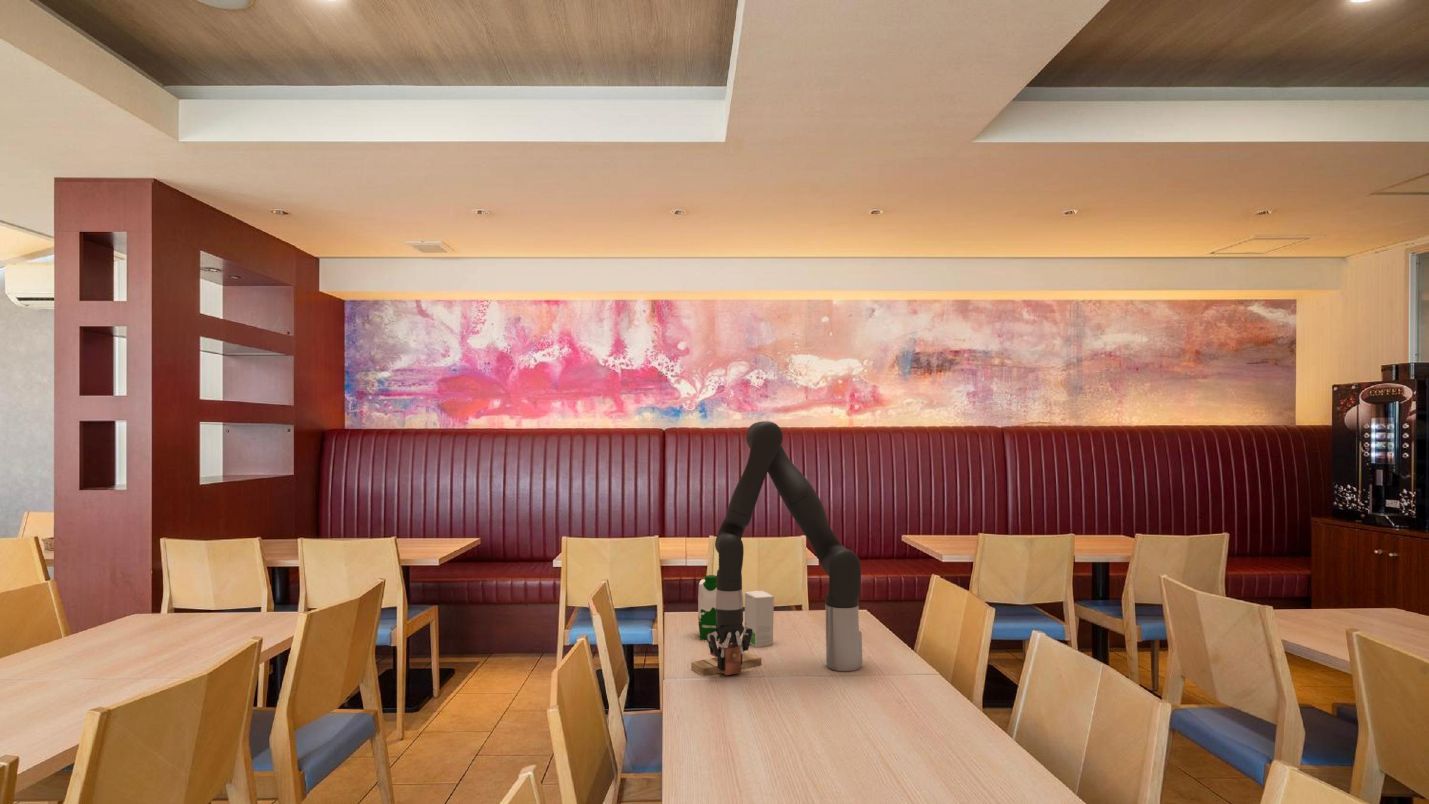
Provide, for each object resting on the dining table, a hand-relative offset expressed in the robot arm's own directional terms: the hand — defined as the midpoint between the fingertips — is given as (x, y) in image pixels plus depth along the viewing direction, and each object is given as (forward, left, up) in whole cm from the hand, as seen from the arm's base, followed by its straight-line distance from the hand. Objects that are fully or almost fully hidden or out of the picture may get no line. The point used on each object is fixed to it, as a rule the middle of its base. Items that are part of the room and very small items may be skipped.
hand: (729, 668), depth 202 cm
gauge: (0, -4, -1) cm, 4 cm away
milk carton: (-14, -35, -2) cm, 38 cm away
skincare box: (-23, -21, -2) cm, 31 cm away
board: (-2, -6, -2) cm, 7 cm away
